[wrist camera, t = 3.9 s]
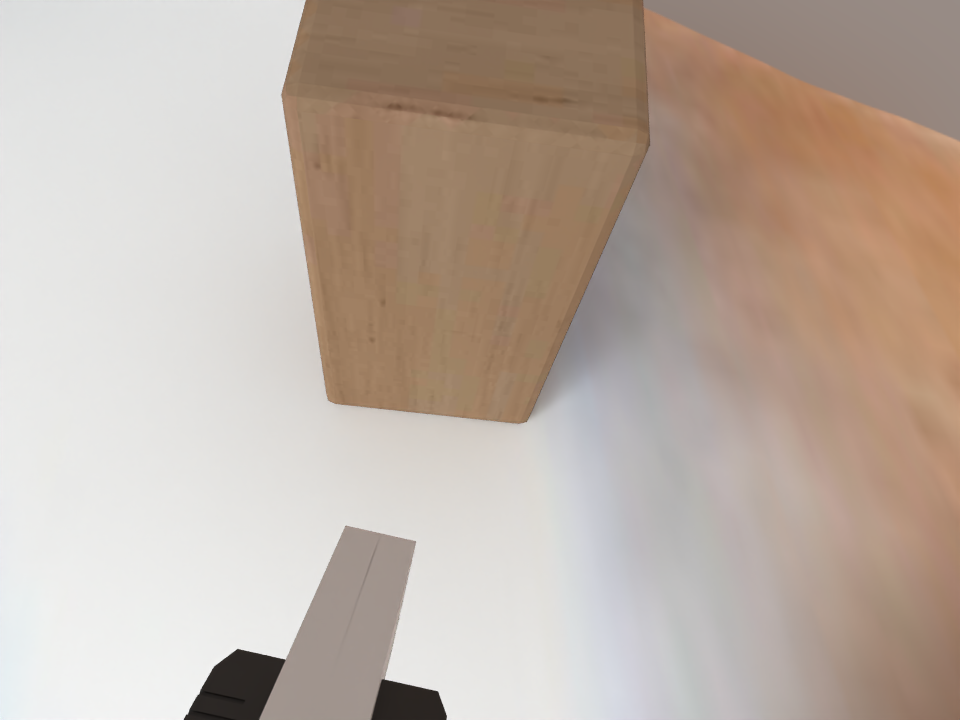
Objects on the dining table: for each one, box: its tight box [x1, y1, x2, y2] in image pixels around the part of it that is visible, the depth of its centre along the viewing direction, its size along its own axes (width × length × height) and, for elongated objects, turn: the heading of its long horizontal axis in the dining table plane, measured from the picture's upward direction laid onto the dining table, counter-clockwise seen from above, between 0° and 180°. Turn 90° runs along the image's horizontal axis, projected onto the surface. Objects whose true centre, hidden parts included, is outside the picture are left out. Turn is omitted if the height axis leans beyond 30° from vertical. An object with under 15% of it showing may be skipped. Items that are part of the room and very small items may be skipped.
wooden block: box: [281, 0, 650, 424], centre depth 31 cm, size 10×10×20 cm
